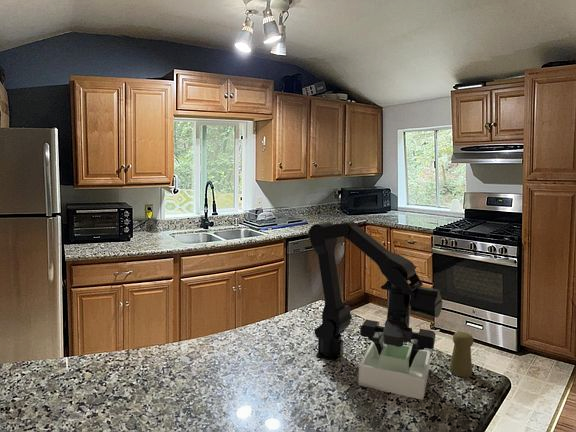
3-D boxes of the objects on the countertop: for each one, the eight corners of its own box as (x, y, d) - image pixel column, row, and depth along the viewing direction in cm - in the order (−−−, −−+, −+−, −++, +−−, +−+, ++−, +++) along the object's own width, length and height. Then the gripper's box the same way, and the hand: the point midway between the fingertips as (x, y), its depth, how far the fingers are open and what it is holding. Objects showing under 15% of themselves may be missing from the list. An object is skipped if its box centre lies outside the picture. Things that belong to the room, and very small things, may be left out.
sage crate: (378, 373, 109) (379, 355, 109) (385, 358, 117) (386, 341, 117) (406, 379, 107) (407, 360, 106) (411, 363, 115) (412, 346, 114)
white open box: (358, 385, 108) (359, 365, 108) (371, 358, 123) (372, 340, 122) (423, 400, 102) (424, 378, 101) (429, 370, 117) (430, 351, 116)
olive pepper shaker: (474, 378, 113) (477, 339, 111) (450, 375, 114) (453, 337, 112) (469, 367, 118) (472, 330, 117) (447, 364, 120) (449, 328, 118)
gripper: (356, 312, 106) (353, 370, 108) (433, 325, 99) (429, 387, 101) (366, 298, 116) (363, 352, 118) (437, 309, 109) (433, 366, 111)
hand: (395, 363), depth 112 cm, fingers closed on sage crate, 7 cm apart
